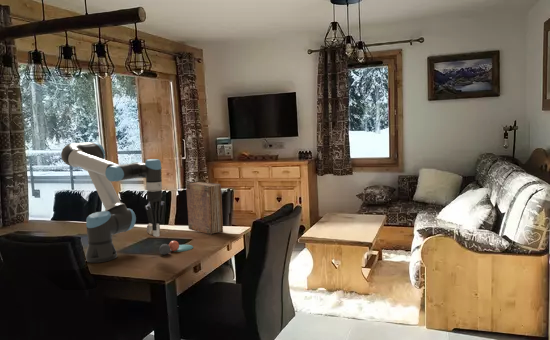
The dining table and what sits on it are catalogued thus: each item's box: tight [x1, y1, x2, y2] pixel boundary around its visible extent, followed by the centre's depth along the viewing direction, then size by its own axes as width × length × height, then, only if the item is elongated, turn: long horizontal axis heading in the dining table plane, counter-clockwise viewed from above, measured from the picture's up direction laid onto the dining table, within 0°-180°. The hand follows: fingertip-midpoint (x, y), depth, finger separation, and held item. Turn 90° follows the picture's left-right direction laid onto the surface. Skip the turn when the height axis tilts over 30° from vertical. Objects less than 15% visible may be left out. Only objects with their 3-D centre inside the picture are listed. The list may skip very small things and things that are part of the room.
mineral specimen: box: [146, 222, 161, 236], centre depth 281 cm, size 13×7×6 cm, turn 33°
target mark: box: [170, 244, 194, 253], centre depth 244 cm, size 13×13×1 cm
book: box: [185, 181, 224, 236], centre depth 282 cm, size 25×9×30 cm, turn 43°
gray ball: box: [159, 243, 171, 256], centre depth 233 cm, size 6×6×6 cm
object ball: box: [168, 240, 180, 252], centre depth 239 cm, size 6×6×6 cm
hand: (156, 236), depth 227 cm, fingers closed
